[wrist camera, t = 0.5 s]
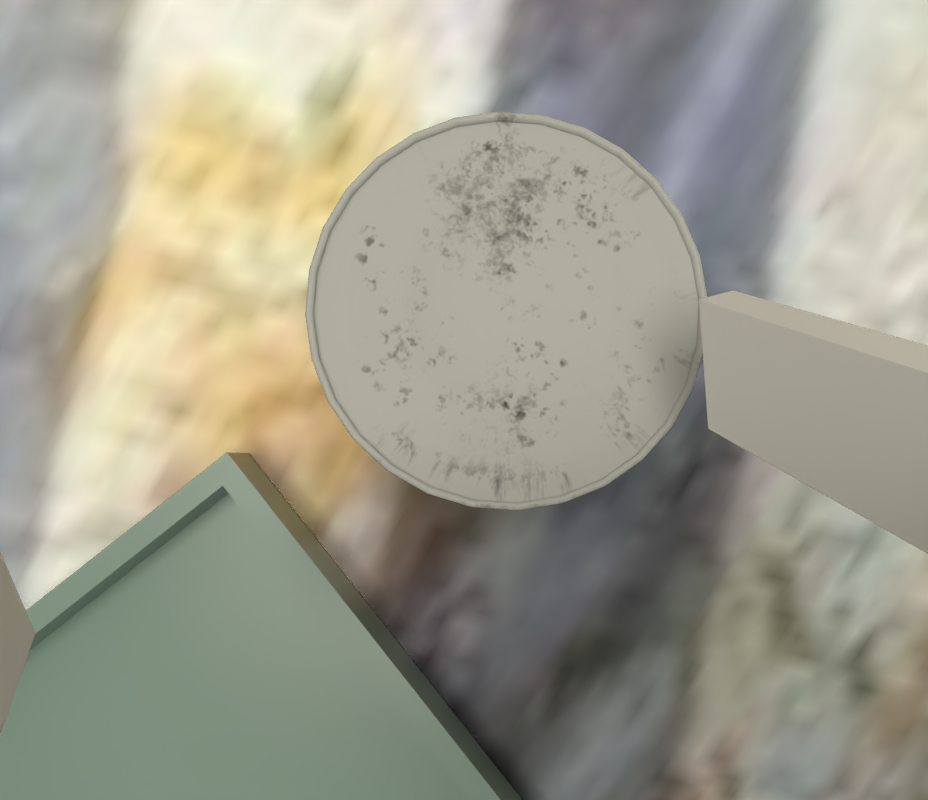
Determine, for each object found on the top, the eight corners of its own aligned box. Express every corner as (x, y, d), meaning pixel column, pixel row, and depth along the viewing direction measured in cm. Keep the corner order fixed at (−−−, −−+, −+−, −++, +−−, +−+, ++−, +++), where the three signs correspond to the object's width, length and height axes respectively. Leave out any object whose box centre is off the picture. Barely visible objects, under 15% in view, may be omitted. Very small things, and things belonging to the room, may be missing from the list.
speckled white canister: (653, 342, 32) (786, 265, 19) (509, 542, 31) (554, 593, 19) (455, 199, 32) (464, 34, 20) (308, 394, 31) (222, 349, 19)
